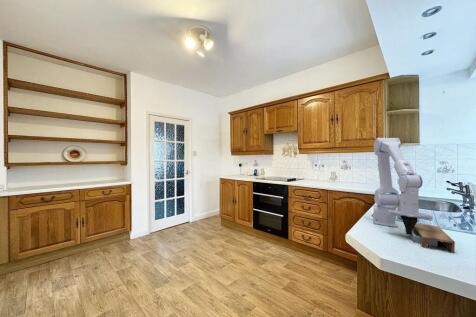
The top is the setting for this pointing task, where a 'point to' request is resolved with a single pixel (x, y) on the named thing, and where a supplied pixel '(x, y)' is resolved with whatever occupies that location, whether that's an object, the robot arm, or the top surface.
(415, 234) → the tray
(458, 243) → the top surface
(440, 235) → the shelf
